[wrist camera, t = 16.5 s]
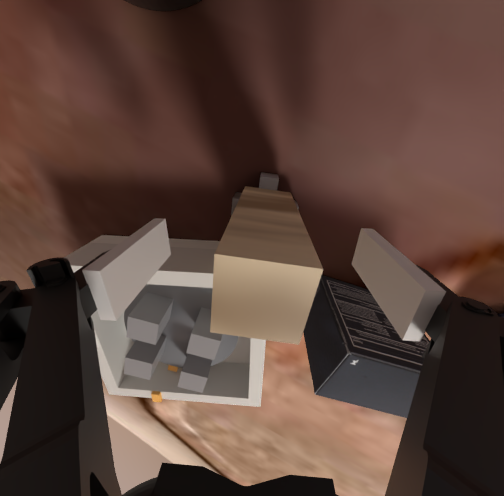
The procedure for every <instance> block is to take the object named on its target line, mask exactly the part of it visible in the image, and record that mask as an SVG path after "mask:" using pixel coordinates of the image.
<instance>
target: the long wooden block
mask: <svg viewBox="0 0 504 496" xmlns="http://www.w3.org/2000/svg"><path fill="white" fill-rule="evenodd" d="M278 182H279V177H278V174H271V173H264V172H261V176H260V183H259V188H254V187H247V186H245V188H244V190H243V192H242V193H239V192H236V193H235V195H234V197H233V199H232V210H231V215H232V216H231V218H230V221H229V223H228V225H227V227H226V230H225V232H224V234H223V236H222V238H221V241H220V243H219V245H218V247H217V249H216V252H215V254H214V272H213V290H212V308H211V326H210V332H212V333H219V334H226V335H233V336H241V337H248V338H255V339H262V340H269V341H276V342H283V343H291V344H298V345H299V344H300V340H301V337H302V334H303V331H304V328H305V325H306V322H307V319H308V316H309V312H310V309H311V306H312V303H313V300H314V297H315V294H316V291H317V288H318V285H319V281H320V278H321V275H322V272H323V267H322V265H321V262H320V260H319V258H318V255H317V253H316V251H315V248H314V246H313V244H312V241H311V239H310V237H309V234H308V232H307V230H306V227H305V225H304V223H303V220H302V218H301V216H300V213H299V211H298V210H299V206H298V204H297V202H296V200H294V199H293V197H292V195H291V193H290V192H283V191H277V188H278Z"/></svg>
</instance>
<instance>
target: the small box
mask: <svg viewBox="0 0 504 496" xmlns="http://www.w3.org/2000/svg"><path fill="white" fill-rule="evenodd" d="M303 332H304V337H305V342H306V348H307V353H308V359H309V364H310V370H311V375H312V380H313V385H314V392H315V394H316V395H319V396H323V397H327V398H331V399H335V400H339V401H343V402H347V403H351V404H354V405H358V406H362V407H366V408H370V409H374V410H378V411H382V412H386V413H389V414H393V415H397V416H401V417H405V418H407V417H408V413H409V410H410V406H411V403H412V399H413V396H414V392H415V389H416V385H417V382H418V378H419V375H420V371H421V368H422V364H423V361H424V358H423V357H422V355H423V353H424V351H425V349H426V348H427V346H428V344H429V342H430V341H429V339H428V338H427V337H426V335H425V334H424V335H423V337H422V339H421V341H420V342H419V341H405V340H402V339H401V338H400V336H399V335H398V333H397V332H396V330H395V329H394V327H393V326H392V324H391V323H390V321H389V320H388V318H387V317H386V315H385V314H384V312H383V311H382V309H381V308H380V306H379V305H378V303H377V302H376V300H375V299H374V297H373V296H372V294H371V293H370V291H369V290H368V289H365V288H362V287H358V286H355V285H352V284H349V283H346V282H343V281H340V280H336V279H333V278H330V277H327V276H323V275H321V278H320V281H319V285H318V288H317V291H316V294H315V297H314V300H313V303H312V306H311V309H310V312H309V316H308V319H307V322H306V325H305V328H304V331H303Z"/></svg>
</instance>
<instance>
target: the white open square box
mask: <svg viewBox="0 0 504 496" xmlns="http://www.w3.org/2000/svg"><path fill="white" fill-rule="evenodd" d="M128 237H129V236H112V235H101V236H100V237H98V238H96V239H95V240H93V241H91V242H89V243H88V244H86V245H84V246H83V247H81V248H79V249H78V250H76V251H74V252H73V253H71V254H69V255H67V256H66V257H64V258H66V259H68V260H69V262H70V265H71V267H72V270H73V272H76V271H77V270H79V269H80V268H81V267H83V266H84V265H86V264H87V263H89V262H90V261H91V260H93V259H95V258H96V257H97V256H99V255H100V254H101V253H103V252H106V251H108V250H111V249H112V248H114V247H115V246H116V245H118V244H119V243H121V242H122V241H123V240H125V239H126V238H128ZM219 243H220V241H208V240H189V239H170V238H169V245H170V251H171V255H170V256H169V257H168V259H167V260H166V261H165V262H164V263H163V265H162V266H161V267H160V268H159V269H158V271H157V272H156V273H155V274H154V276H153V277H152V278H151V279H150V280H149V282H148V283H147V284H154V285H170V286H187V287H203V288H213V272H214V254H215V252H216V249H217V247H218V245H219ZM124 312H125V311H124ZM124 312H123V313H122V314H121V316H120V317H119V318H118V319H117V321H111V320H100V317H99V314H98V312H97V310H96V311H95V312H94V313H93V314H92V315H91V318H92V320H93V324H94V331H95V338H96V345H97V352H98V359H99V366H100V373H101V376H102V379H103V381H104V383H105V386H106V388H107V390H108V392H109V394H110V395H122V396H134V397H147V398H152V400H153V402H161V401H162V399H171V400H183V401H195V402H207V403H219V404H231V405H244V406H256V407H261V394H262V382H263V369H264V357H265V345H266V340H262V339H255V338H248V337H241V336H238V341H237V344H236V347H235V349H234V351H233V352H232V353H231V355H229V356H228V357H227V358H226V359H225V360H223V361H222V362H220V363H218V364H215V365H213V366H211V367H210V371H209V375H208V379H207V382H206V384H205V387H204V390H203V393H200V392H196V391H192V390H188V389H184V388H180V387H177V386H178V382H179V379H180V375H181V371H182V368H181V367H178V370H177V372H174V371H170V370H168V364H165V363H163V362H160V361H159V362H158V364H157V367H156V369H155V371H154V373H153V375H152V377H151V379H150V380H147V379H143V378H139V377H135V376H131V375H127V374H124V364H125V356H126V355H127V353H128V352H129V350H130V349H131V347H132V346H133V344H134V342H133V341H132V339H131V338H127V337H126V336H127V330H126V327H125V323H124Z"/></svg>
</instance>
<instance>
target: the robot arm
mask: <svg viewBox="0 0 504 496" xmlns="http://www.w3.org/2000/svg"><path fill="white" fill-rule="evenodd" d="M124 1H126V2H128V3H131V4H133V5H135V6H138V7H141V8H145V9H149V10H155V11H172V10H179V9H182V8H186V7H189V6H191V5H194V4H196V3H198V2H200V1H201V0H124ZM170 255H171V251H170V245H169V238H168V232H167V225H166V219H160V218H154V219H153V220H151V221H150V222H149V223H147V224H146V225H144V226H143V227H142V228H140V229H139V230H137V231H136V232H135V233H133V234H132V235H130V236H129V237H128V238H126V239H125V240H123V241H122V242H121V243H119V244H118V245H116V246H115V247H114V248H112V249H111V250H108V251H106V252H103V253H101V254H100V255H99V256H97V257H96V258H95V259H93V260H91V261H90V262H89V263H87V264H86V265H84V266H83V267H81V268H80V269H79V270H77V271H76V272H73V270H72V267H71V265H70V262H69V260H68V259H66V258H52V259H47V260H43V261H40V262H38V263H35V264H33V265H32V266H30V267H29V268H28V269H27V272H28V274H29V276H30V278H31V280H32V282H33V284H34V286H35V288H33V289H25V290H20V289H19V287H18V285H17V284H16V282H15V281H0V410H1V408H2V406H3V404H4V402H5V400H6V398H7V396H8V394H9V392H10V391H11V389H12V387H13V385H14V383H15V381H16V379H17V377H18V380H17V386H16V390H15V396H14V402H13V406H12V411H11V416H10V422H9V427H8V432H7V438H6V443H5V448H4V453H3V457H2V461H1V464H0V496H338V495H336V494H335V489H334V483H333V479H328V478H318V477H307V476H297V475H288V476H284V477H280V478H277V479H273V480H269V481H266V482H262V483H259V484H255V485H251V486H242V485H239V484H237V483H235V482H233V481H231V480H229V479H227V478H225V477H223V476H221V475H219V474H217V473H215V472H213V471H211V470H209V469H207V468H205V467H202V466H191V465H181V464H169V463H162V465H161V468H160V471H159V475H158V477H156V478H153V479H150V480H148V481H146V482H143V483H141V484H139V485H137V486H136V487H134V488H132V489H131V490H129V491H127V492H126V493H125V494H123V495H121V490H120V487H119V484H118V481H117V477H116V473H115V468H114V462H113V455H112V449H111V441H110V434H109V428H108V421H107V414H106V407H105V400H104V393H103V386H102V379H101V373H100V366H99V359H98V352H97V345H96V338H95V331H94V324H93V320H92V318H91V315H92V314H93V313H94V312H95V311H96V310H97V312H98V314H99V317H100V320H111V321H117V319H118V318H119V317H120V316H121V314H122V313H123V312H124V311H125V310H126V308H127V307H128V306H129V305H130V304H131V302H132V301H133V300H134V299H135V297H136V296H137V295H138V294H139V293H140V291H141V290H142V289H143V288H144V286H145V285H146V284H147V283H148V282H149V280H150V279H151V278H152V277H153V276H154V274H155V273H156V272H157V271H158V269H159V268H160V267H161V266H162V265H163V263H164V262H165V261H166V260H167V259H168V257H169V256H170ZM352 266H353V267H354V269H355V270H356V272H357V273H358V275H359V276H360V278H361V279H362V281H363V282H364V284H365V285H366V287H367V288H368V290H369V291H370V293H371V294H372V296H373V297H374V299H375V300H376V302H377V303H378V305H379V306H380V308H381V309H382V311H383V312H384V314H385V315H386V317H387V318H388V320H389V321H390V323H391V324H392V326H393V327H394V329H395V330H396V332H397V333H398V335H399V336H400V338H401V339H402V340H405V341H419V342H420V341H421V339H422V337H423V335H424V333H425V331H426V332H427V333H428V335H429V336H430V337H431V338H432V339H431V340H430V342H429V344H428V346H427V348H426V349H425V351H424V353H423V355H422V357H423V358H424V361H423V364H422V368H421V371H420V375H419V378H418V382H417V385H416V389H415V392H414V396H413V399H412V403H411V406H410V410H409V413H408V417H407V420H406V424H405V427H404V431H403V434H402V438H401V441H400V445H399V448H398V452H397V455H396V459H395V462H394V466H393V469H392V473H391V477H390V480H389V484H388V487H387V491H386V494H385V496H504V318H503V317H499V316H498V315H497V313H496V312H495V311H494V310H493V309H492V308H490V307H489V306H487V305H485V304H483V303H481V302H479V301H476V300H474V299H470V298H466V297H458V296H457V295H456V294H455V293H453V292H452V291H451V290H450V289H449V288H447V287H446V286H445V285H444V284H443V283H440V281H439V280H438V279H437V278H434V276H433V275H432V274H430V273H429V272H428V271H427V270H425V269H423V268H421V267H419V266H418V265H415V264H414V263H412V262H411V261H410V260H409V259H408V258H407V257H405V256H404V255H403V254H402V253H401V252H400V251H398V250H397V249H396V248H395V247H394V246H393V245H391V244H390V243H389V242H388V241H387V240H386V239H384V238H383V237H382V236H381V235H380V234H379V233H377V232H376V231H375V230H374V229H368V228H361V231H360V234H359V238H358V242H357V246H356V249H355V253H354V257H353V261H352Z"/></svg>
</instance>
